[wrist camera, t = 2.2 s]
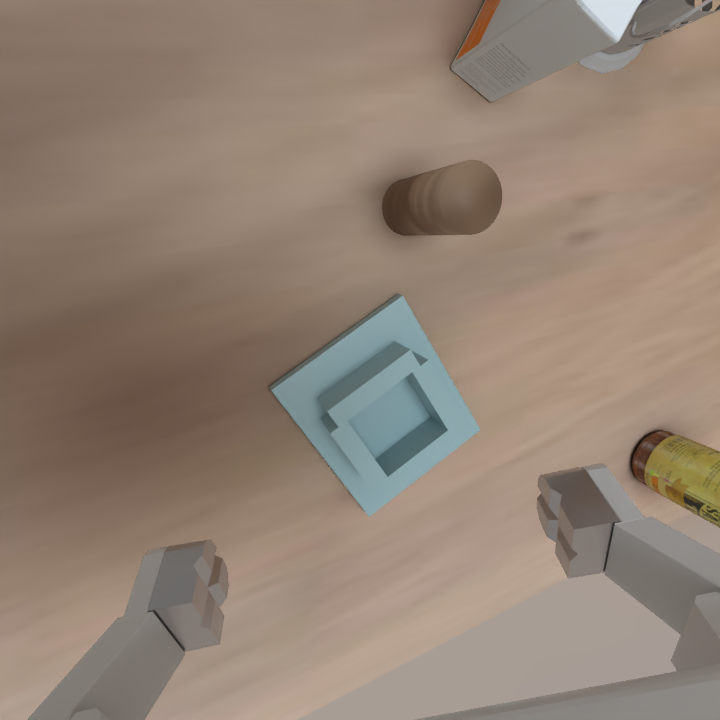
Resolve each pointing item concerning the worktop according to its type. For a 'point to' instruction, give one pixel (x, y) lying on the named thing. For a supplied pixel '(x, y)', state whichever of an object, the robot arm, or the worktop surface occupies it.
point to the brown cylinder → (444, 201)
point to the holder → (378, 405)
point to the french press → (646, 30)
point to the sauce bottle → (681, 472)
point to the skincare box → (536, 40)
